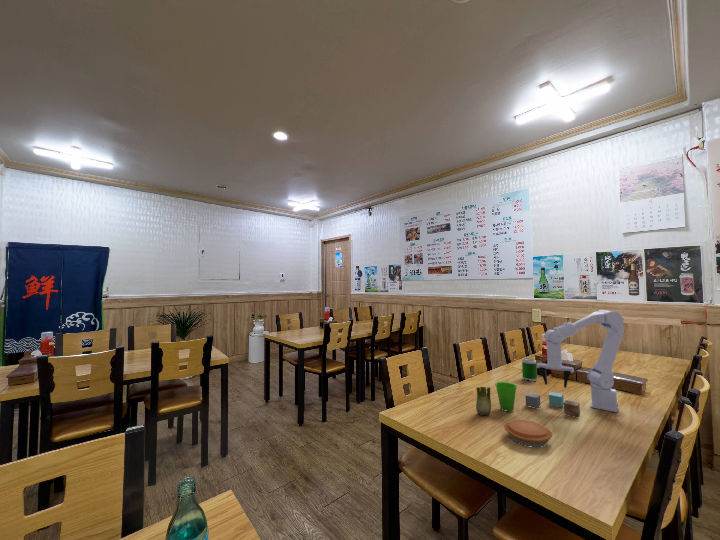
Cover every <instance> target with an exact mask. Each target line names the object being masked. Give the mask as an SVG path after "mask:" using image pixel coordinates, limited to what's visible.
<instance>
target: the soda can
mask: <svg viewBox="0 0 720 540" xmlns="http://www.w3.org/2000/svg"><path fill="white" fill-rule="evenodd" d="M521 367H522V369H521V370H522V379H523V380H524V379H525V380H524V381H526V380H529V381H528V382H536V381H537V380H538V368H537V361H536V360H535V358H527V357H526V358H522V360H521ZM535 380H536V381H535Z"/></svg>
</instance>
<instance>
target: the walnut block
mask: <svg viewBox="0 0 720 540" xmlns="http://www.w3.org/2000/svg"><path fill="white" fill-rule="evenodd" d="M580 406H581V405H580V402H578V401H572V400H567V399H564V406H563V415H564V414H566V415H565V416H567V415H570V416H569V417H572V416H575V417H574V418H576V417H579V418H580V414H581V408H580Z"/></svg>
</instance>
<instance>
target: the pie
mask: <svg viewBox="0 0 720 540" xmlns="http://www.w3.org/2000/svg"><path fill="white" fill-rule="evenodd" d="M503 428H504V430H505V431H506V433H508V435H509V437H510V438H512V439H513V440H514V441H513V442H515V441H516V442H518V443H520V444H519V445H521V444H522V445H521V446H524V445H526V446H525V447H528V446H532V447H531V448H542V447H541V446H543V447H545V446H546V445H547V443H548V442H549V441H550V440H551V439H552V437H553V432H552V431H551V430H550V429H549V428H548V427H546V426H544V425H542V424H540V423H538V422H535V421H531V420H526V419H515V420H514V419H513V420H510V421H507V422H505V423H504V425H503ZM512 439H511V440H512ZM516 442H515V443H516ZM518 443H517V444H518ZM545 444H546V445H545ZM544 445H545V446H544Z"/></svg>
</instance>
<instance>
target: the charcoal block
mask: <svg viewBox="0 0 720 540" xmlns="http://www.w3.org/2000/svg"><path fill="white" fill-rule="evenodd" d="M524 396H525V407H526V406H531V407H535V408H539V409H540V407H541V406H540V405H541V395H540V394H536V393H532V392H528V393H526V394H525V395H524ZM539 406H540V407H539ZM531 407H530V408H531ZM535 408H534V409H535Z"/></svg>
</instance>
